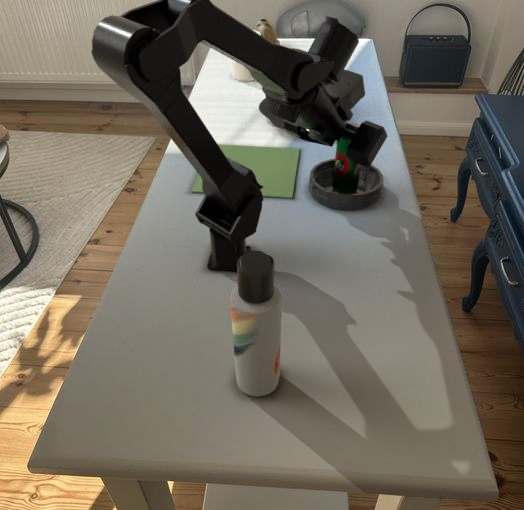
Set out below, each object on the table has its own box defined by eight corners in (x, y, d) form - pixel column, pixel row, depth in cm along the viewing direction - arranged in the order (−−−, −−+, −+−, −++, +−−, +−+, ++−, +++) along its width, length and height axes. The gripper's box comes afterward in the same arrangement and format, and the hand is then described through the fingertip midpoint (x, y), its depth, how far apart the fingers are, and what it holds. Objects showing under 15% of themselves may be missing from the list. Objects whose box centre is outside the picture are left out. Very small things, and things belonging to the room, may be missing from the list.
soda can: (356, 197, 93) (366, 135, 84) (330, 195, 94) (337, 133, 85) (358, 184, 96) (368, 123, 87) (333, 181, 97) (340, 121, 88)
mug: (235, 66, 141) (233, 24, 133) (263, 66, 141) (263, 25, 133) (230, 81, 133) (228, 38, 125) (260, 82, 133) (259, 39, 125)
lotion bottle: (278, 363, 66) (281, 241, 51) (280, 397, 62) (285, 276, 47) (236, 364, 66) (227, 243, 51) (236, 398, 62) (227, 278, 47)
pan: (381, 212, 90) (384, 197, 88) (306, 208, 91) (308, 192, 89) (378, 175, 99) (381, 160, 97) (310, 171, 100) (312, 156, 98)
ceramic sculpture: (282, 10, 147) (279, 29, 137) (282, 42, 153) (279, 62, 144) (247, 10, 147) (242, 28, 138) (248, 42, 154) (244, 61, 145)
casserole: (338, 138, 110) (343, 100, 104) (257, 138, 110) (257, 99, 104) (330, 95, 127) (334, 59, 120) (259, 94, 127) (259, 59, 121)
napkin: (292, 198, 93) (292, 197, 93) (191, 192, 95) (191, 190, 95) (299, 150, 106) (299, 148, 106) (210, 145, 108) (210, 144, 108)
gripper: (392, 74, 70) (417, 126, 83) (297, 44, 79) (333, 96, 92) (351, 145, 72) (381, 185, 85) (263, 108, 81) (303, 150, 94)
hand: (349, 151), depth 89 cm, fingers open, 9 cm apart
